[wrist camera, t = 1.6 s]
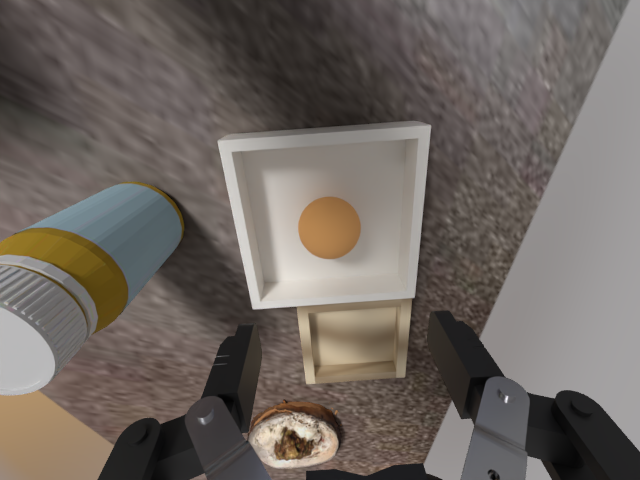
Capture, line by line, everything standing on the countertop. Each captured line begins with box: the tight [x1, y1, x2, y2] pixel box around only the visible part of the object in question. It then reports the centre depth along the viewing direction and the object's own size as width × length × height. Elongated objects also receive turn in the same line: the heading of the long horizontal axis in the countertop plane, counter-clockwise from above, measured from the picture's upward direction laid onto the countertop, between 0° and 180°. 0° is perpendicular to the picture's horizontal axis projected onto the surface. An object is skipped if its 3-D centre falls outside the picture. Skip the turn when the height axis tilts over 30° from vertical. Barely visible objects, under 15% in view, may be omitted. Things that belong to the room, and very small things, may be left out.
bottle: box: [0, 182, 184, 395], centre depth 20 cm, size 7×7×15 cm
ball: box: [298, 197, 361, 259], centre depth 24 cm, size 5×5×5 cm
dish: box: [218, 121, 431, 309], centre depth 25 cm, size 15×15×4 cm
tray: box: [297, 298, 412, 384], centre depth 32 cm, size 11×11×2 cm
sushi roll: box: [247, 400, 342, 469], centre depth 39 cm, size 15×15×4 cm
